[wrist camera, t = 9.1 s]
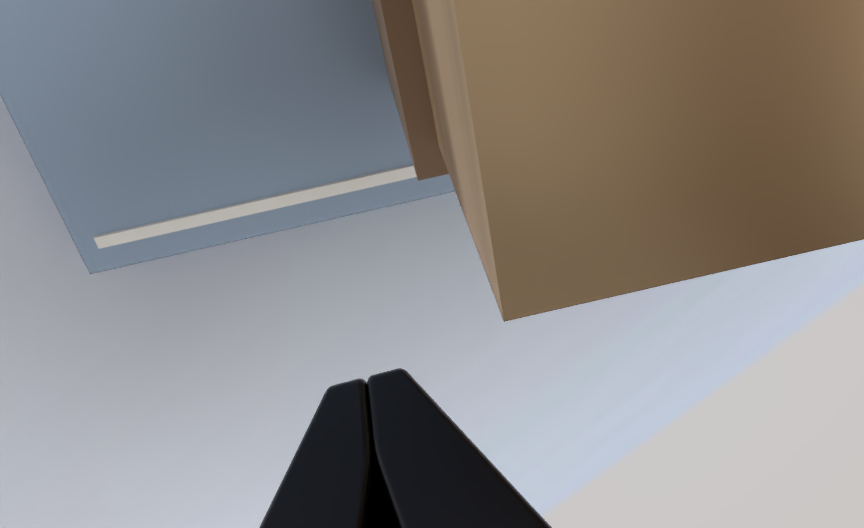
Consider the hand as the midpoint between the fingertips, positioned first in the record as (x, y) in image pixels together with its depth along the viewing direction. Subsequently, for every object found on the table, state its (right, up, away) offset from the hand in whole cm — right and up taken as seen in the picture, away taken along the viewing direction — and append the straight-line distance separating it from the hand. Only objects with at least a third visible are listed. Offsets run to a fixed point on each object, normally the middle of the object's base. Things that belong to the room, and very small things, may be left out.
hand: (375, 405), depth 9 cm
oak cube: (+3, +6, +3) cm, 7 cm away
